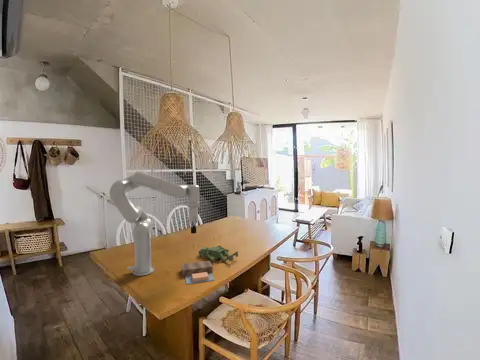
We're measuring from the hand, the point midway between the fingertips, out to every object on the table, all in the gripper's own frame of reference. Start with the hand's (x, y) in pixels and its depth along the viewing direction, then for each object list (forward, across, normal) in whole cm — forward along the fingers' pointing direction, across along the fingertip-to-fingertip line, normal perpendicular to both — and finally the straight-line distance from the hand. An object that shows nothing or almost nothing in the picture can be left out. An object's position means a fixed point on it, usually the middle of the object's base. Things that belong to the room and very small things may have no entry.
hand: (193, 233), depth 163 cm
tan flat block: (+21, +16, +2) cm, 26 cm away
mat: (+23, +15, +2) cm, 28 cm away
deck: (+23, +5, +2) cm, 24 cm away
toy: (+23, -14, +18) cm, 32 cm away
